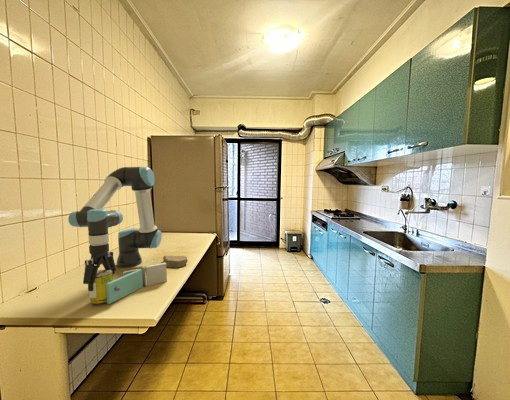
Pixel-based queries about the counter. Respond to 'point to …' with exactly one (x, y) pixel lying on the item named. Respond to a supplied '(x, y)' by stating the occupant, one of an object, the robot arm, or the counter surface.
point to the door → (124, 286)
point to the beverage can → (101, 285)
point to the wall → (152, 274)
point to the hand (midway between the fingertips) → (101, 292)
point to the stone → (175, 261)
